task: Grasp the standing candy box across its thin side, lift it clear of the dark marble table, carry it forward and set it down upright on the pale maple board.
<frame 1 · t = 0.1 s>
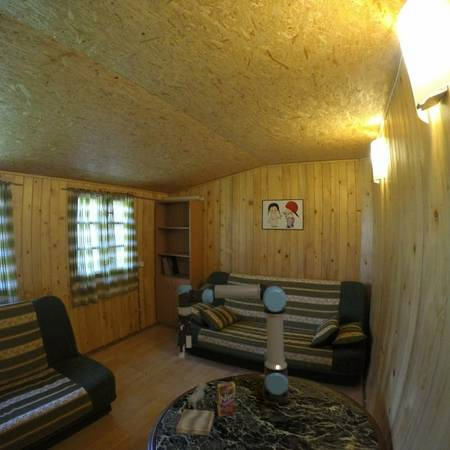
hand: (185, 352, 151), 28 cm above the table, fingers open, 13 cm apart
dog figurine: (197, 405, 149), on the table
board: (196, 423, 134), on the table
candy box: (226, 414, 141), on the table
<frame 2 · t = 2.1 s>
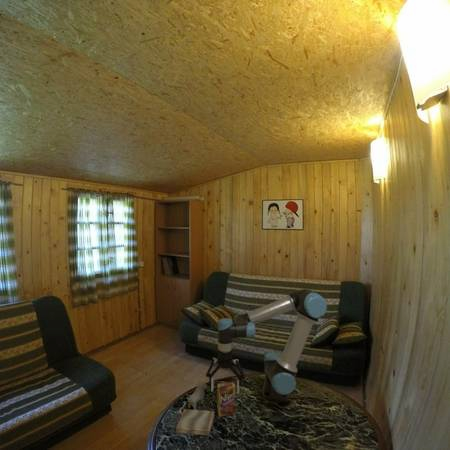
hand: (225, 391, 141), 11 cm above the table, fingers open, 13 cm apart
nothing on the table moved.
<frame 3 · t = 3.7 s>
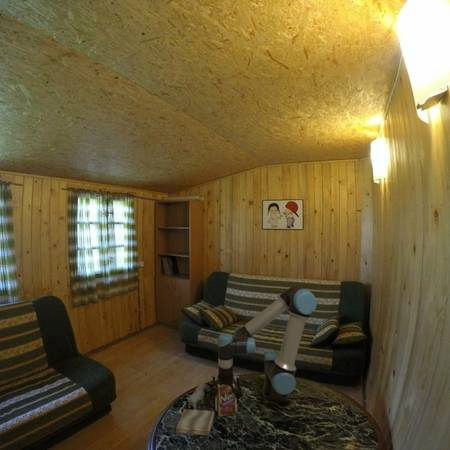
hand: (226, 409, 141), 2 cm above the table, fingers closed on candy box, 9 cm apart
candy box: (226, 413, 141), on the table, touching gripper
everything else where it was.
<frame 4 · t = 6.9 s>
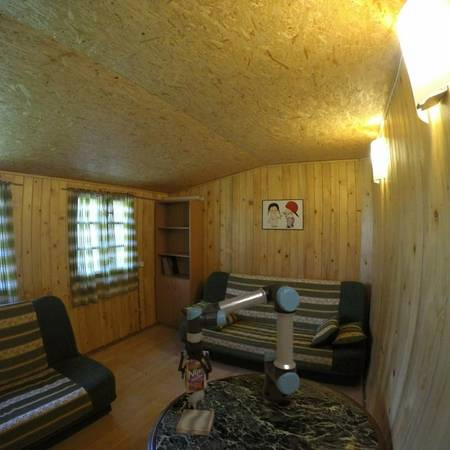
hand: (195, 385, 135), 18 cm above the table, fingers closed on candy box, 9 cm apart
candy box: (195, 390, 134), point 16 cm above the table, touching gripper
everything else where it was.
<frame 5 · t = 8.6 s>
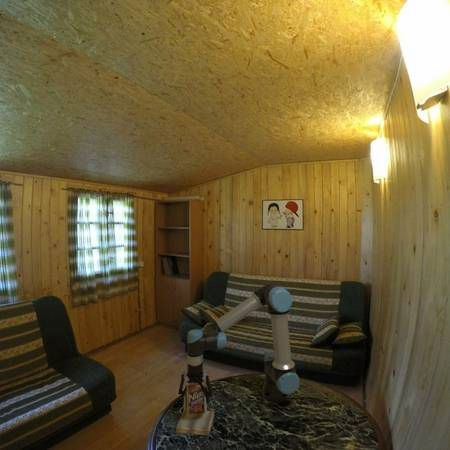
hand: (195, 408, 134), 7 cm above the table, fingers closed on candy box, 9 cm apart
candy box: (195, 413, 134), point 5 cm above the table, touching gripper
everything else where it was.
when the fingers open (5 cm above the table, at t = 10.1 s): candy box stays where it is, resting on board.
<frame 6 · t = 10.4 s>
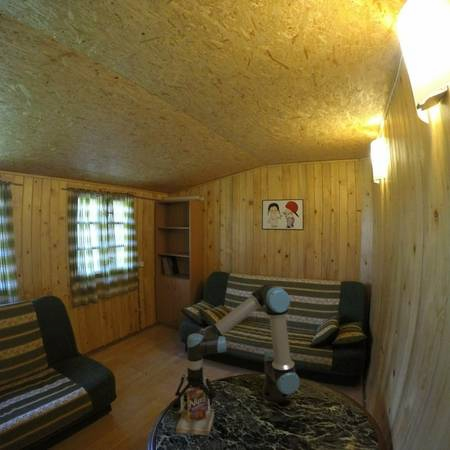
hand: (195, 410, 134), 6 cm above the table, fingers open, 13 cm apart
candy box: (196, 419, 134), point 2 cm above the table, touching board
everything else where it was.
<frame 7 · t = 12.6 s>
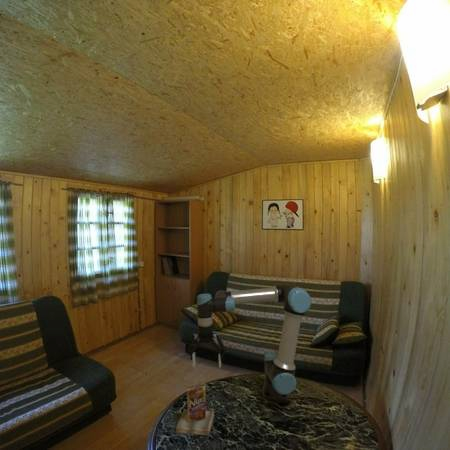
hand: (207, 366, 140), 25 cm above the table, fingers open, 13 cm apart
nothing on the table moved.
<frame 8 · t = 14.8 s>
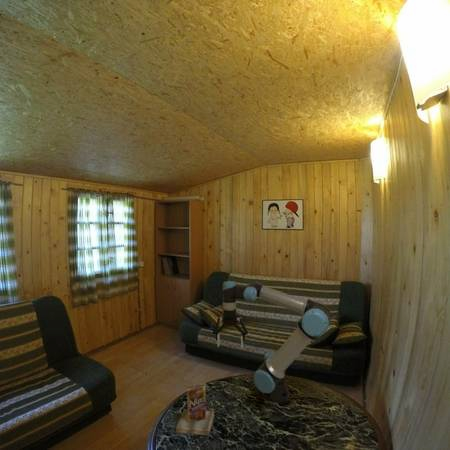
hand: (230, 346, 156), 29 cm above the table, fingers open, 13 cm apart
nothing on the table moved.
at the end: candy box inside the target area on the board (0.3 cm from its centre), point 2.1 cm above the board's base; candy box tilted 0°; the gripper is holding nothing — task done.
